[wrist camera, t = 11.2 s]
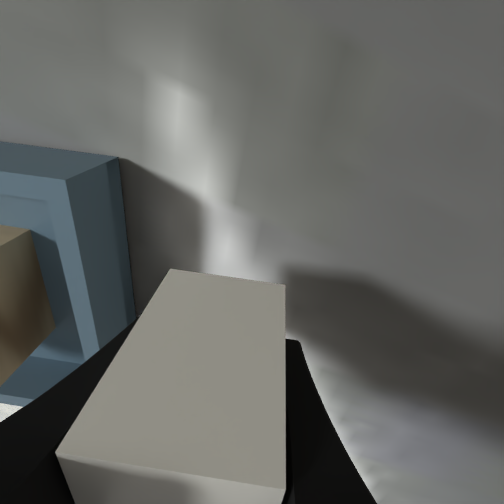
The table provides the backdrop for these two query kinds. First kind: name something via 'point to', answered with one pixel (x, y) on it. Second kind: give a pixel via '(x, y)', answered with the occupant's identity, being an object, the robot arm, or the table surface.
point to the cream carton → (189, 401)
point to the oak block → (21, 300)
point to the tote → (68, 256)
